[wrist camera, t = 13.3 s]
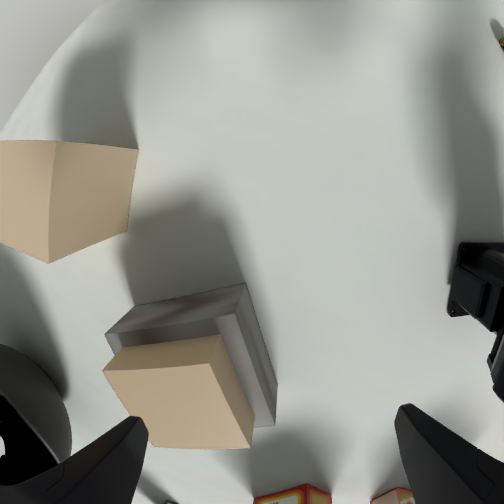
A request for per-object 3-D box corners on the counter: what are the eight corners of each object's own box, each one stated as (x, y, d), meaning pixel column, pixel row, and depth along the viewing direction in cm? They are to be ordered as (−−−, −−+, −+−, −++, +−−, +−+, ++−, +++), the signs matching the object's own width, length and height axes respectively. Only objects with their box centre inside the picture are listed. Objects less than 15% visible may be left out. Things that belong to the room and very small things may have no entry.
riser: (245, 282, 21) (234, 313, 16) (277, 384, 23) (275, 425, 18) (134, 306, 23) (104, 334, 18) (177, 394, 25) (160, 429, 20)
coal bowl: (79, 443, 32) (30, 516, 14) (-3, 360, 30) (-66, 414, 12) (117, 402, 26) (39, 521, 8) (6, 286, 25) (-100, 349, 7)
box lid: (220, 334, 16) (209, 363, 14) (254, 417, 18) (250, 447, 15) (122, 347, 18) (101, 370, 15) (165, 421, 19) (153, 446, 17)
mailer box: (138, 149, 19) (57, 140, 10) (126, 231, 21) (48, 263, 12) (77, 144, 19) (-3, 140, 11) (69, 216, 21) (-8, 238, 12)
